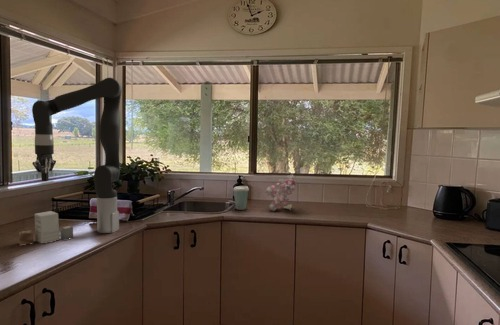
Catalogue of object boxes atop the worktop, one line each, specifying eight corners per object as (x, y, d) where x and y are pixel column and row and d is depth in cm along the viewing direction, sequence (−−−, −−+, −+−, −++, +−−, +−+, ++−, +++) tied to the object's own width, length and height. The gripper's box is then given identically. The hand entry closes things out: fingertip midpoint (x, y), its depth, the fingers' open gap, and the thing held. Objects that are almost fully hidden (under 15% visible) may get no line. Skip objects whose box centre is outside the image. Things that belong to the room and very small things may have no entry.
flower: (263, 202, 238) (262, 173, 225) (294, 199, 239) (295, 170, 226) (266, 221, 221) (265, 190, 208) (300, 217, 222) (301, 187, 209)
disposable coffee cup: (239, 211, 216) (240, 188, 214) (229, 208, 223) (229, 186, 222) (251, 209, 223) (252, 187, 221) (241, 206, 231) (241, 184, 229)
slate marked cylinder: (75, 237, 156) (75, 226, 155) (68, 240, 151) (68, 229, 150) (65, 236, 157) (65, 225, 156) (58, 239, 152) (58, 228, 151)
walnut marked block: (32, 241, 149) (32, 229, 149) (33, 244, 145) (33, 232, 145) (19, 243, 146) (18, 231, 146) (19, 246, 142) (19, 234, 142)
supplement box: (52, 237, 155) (52, 210, 154) (59, 240, 150) (58, 213, 149) (34, 241, 149) (34, 213, 148) (41, 244, 144) (40, 216, 143)
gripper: (41, 144, 149) (42, 183, 150) (61, 144, 162) (62, 179, 163) (25, 144, 149) (26, 182, 151) (47, 143, 163) (47, 178, 164)
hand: (45, 180), depth 157 cm, fingers closed
